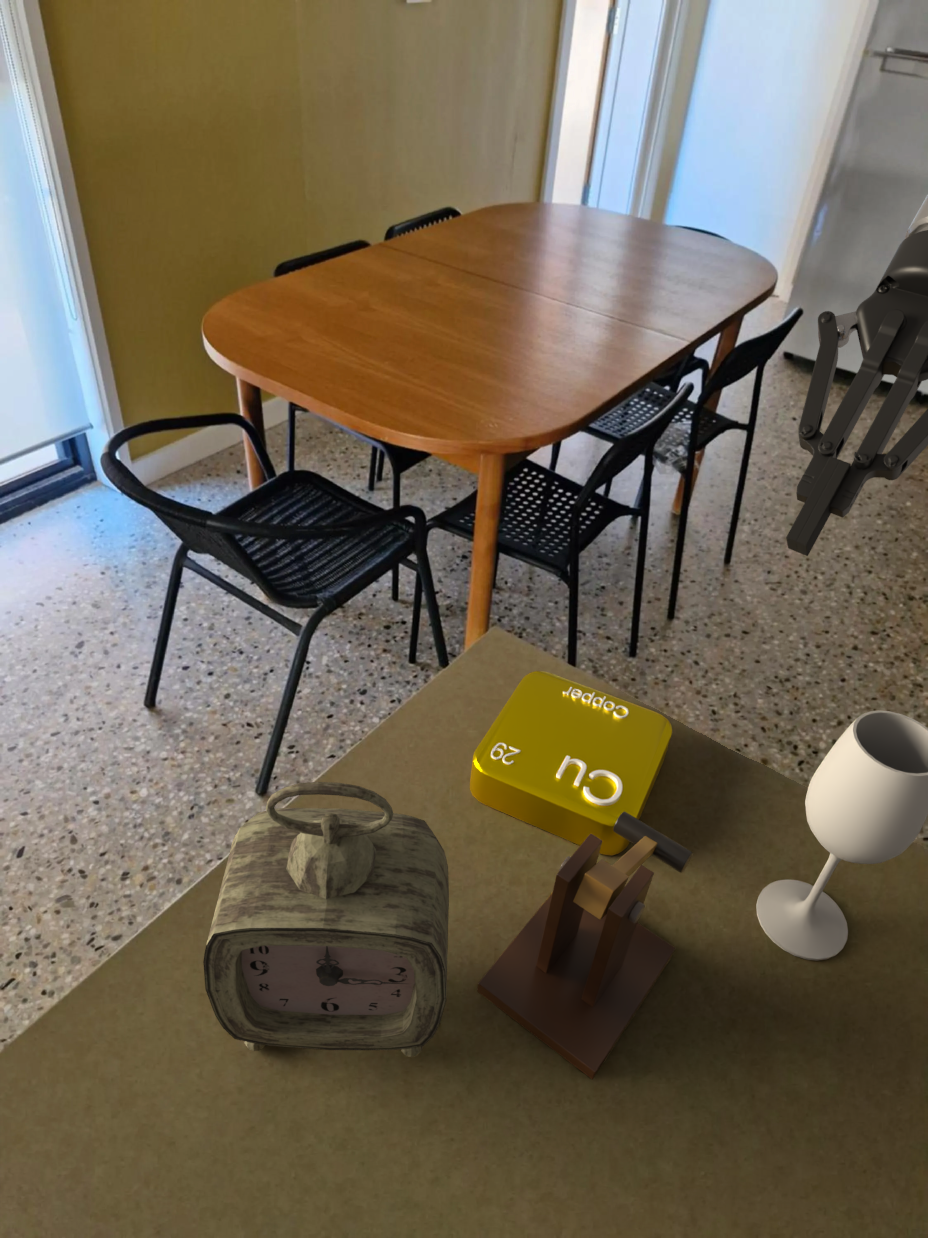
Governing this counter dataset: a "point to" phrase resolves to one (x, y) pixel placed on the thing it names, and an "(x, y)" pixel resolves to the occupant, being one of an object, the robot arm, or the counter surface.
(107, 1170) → the counter surface
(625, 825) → the lever
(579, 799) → the element tile
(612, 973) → the wooden lever stand
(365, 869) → the tabletop clock
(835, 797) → the wineglass
